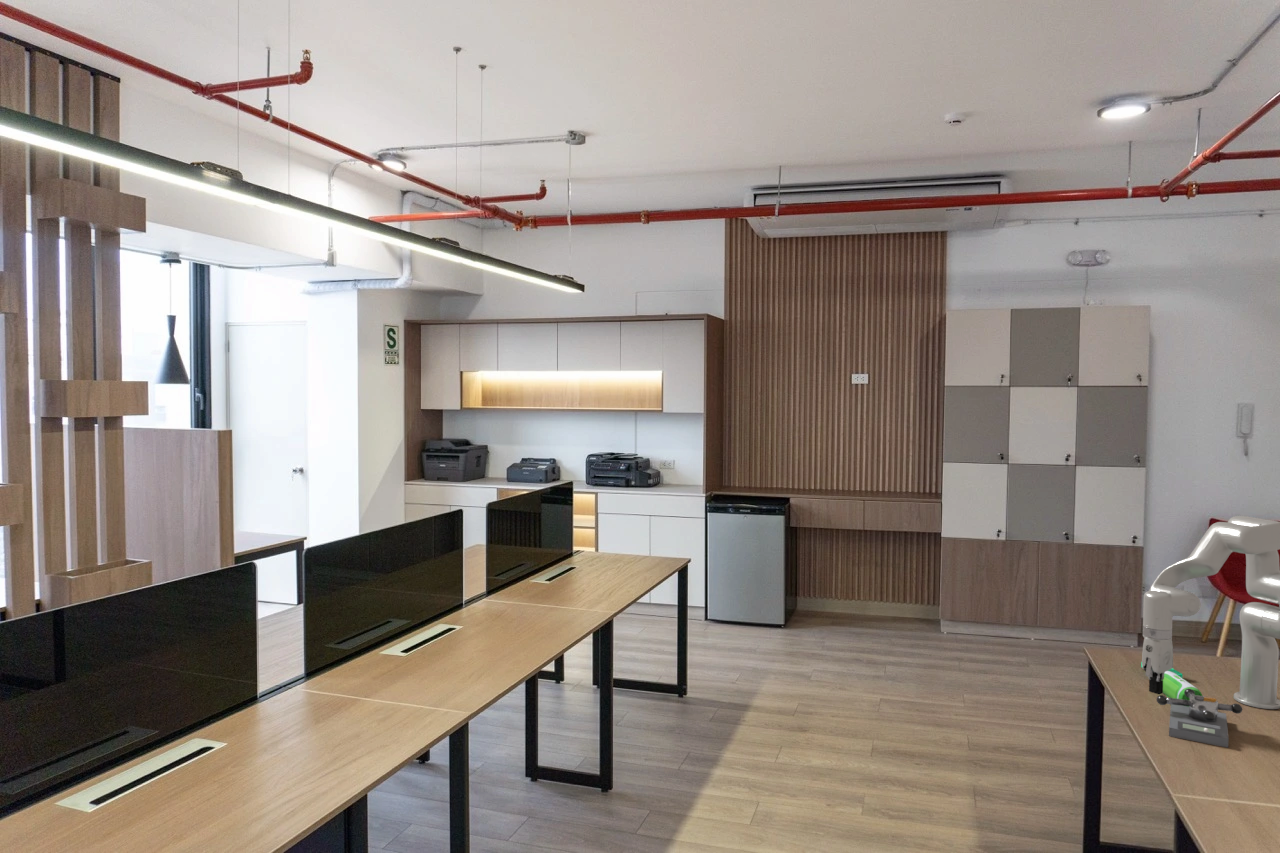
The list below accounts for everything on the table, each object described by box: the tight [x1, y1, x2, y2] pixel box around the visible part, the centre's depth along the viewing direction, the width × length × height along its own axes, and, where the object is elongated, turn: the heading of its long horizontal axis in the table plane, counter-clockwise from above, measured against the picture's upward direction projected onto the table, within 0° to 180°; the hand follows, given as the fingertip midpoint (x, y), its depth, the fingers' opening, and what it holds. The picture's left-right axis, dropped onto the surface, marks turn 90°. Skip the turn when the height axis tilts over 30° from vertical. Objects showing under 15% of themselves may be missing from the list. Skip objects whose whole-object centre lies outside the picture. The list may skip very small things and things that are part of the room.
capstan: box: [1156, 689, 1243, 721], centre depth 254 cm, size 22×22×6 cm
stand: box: [1168, 704, 1229, 748], centre depth 251 cm, size 22×14×5 cm, turn 147°
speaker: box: [1162, 671, 1204, 707], centre depth 273 cm, size 18×7×8 cm, turn 173°
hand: (1155, 692), depth 260 cm, fingers closed
